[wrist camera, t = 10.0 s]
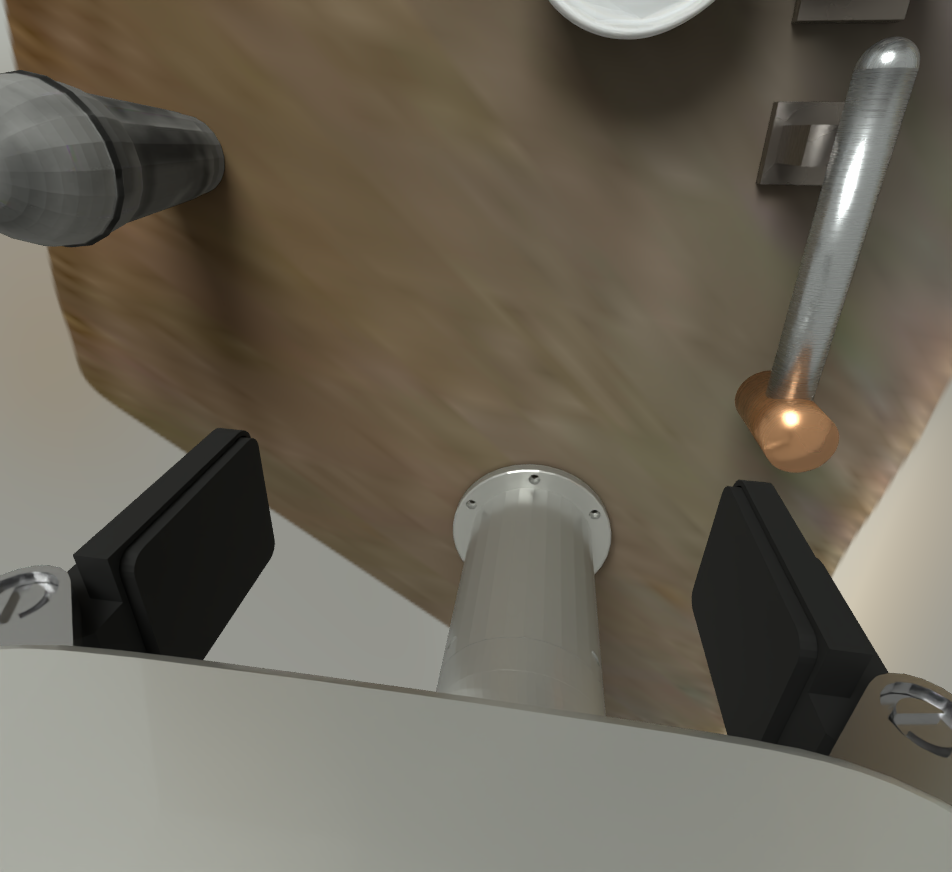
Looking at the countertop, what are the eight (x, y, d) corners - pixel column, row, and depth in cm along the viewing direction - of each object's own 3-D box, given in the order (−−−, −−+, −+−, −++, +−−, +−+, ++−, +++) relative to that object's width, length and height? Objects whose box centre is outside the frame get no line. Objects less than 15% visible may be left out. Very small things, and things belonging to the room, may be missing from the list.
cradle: (848, 184, 32) (890, 192, 28) (755, 183, 33) (784, 190, 28) (872, 102, 30) (921, 98, 26) (773, 102, 31) (806, 97, 27)
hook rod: (788, 425, 36) (827, 474, 31) (729, 421, 36) (758, 469, 31) (903, 45, 27) (988, 24, 21) (821, 46, 27) (885, 25, 22)
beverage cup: (253, 220, 37) (-17, 298, 20) (149, 213, 38) (-200, 282, 20) (235, 90, 34) (-111, 46, 16) (121, 85, 34) (-329, 37, 17)
